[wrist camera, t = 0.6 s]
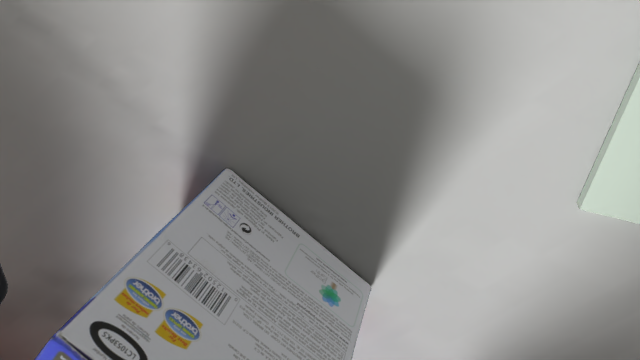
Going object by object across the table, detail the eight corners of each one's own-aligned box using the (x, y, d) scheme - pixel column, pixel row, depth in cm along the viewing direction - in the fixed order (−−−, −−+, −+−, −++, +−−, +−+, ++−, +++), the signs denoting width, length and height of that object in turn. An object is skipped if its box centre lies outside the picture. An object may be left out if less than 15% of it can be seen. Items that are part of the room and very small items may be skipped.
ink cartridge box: (171, 227, 27) (-76, 474, 15) (224, 159, 25) (-20, 388, 12) (310, 339, 28) (191, 662, 16) (375, 285, 26) (296, 619, 13)
